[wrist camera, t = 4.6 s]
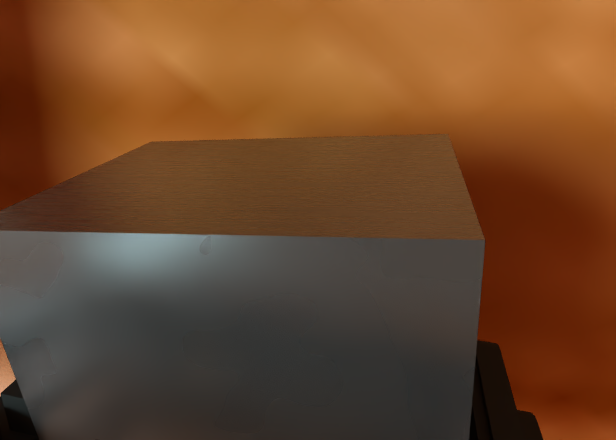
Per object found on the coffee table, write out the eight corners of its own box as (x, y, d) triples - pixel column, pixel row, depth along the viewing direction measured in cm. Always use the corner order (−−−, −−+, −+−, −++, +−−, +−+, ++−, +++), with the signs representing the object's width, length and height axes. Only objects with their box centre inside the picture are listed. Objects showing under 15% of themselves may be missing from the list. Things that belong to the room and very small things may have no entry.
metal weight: (448, 133, 9) (485, 239, 5) (432, 489, 13) (444, 738, 8) (151, 141, 11) (-42, 229, 6) (214, 461, 14) (125, 662, 10)
